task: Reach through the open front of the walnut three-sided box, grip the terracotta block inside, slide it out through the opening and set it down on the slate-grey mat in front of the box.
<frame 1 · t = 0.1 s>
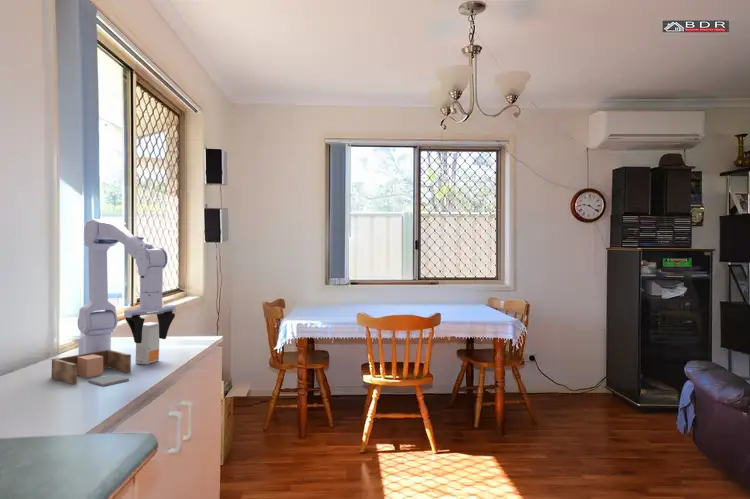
hand: (150, 340, 143), 10 cm above the countertop, tool pointing down, fingers open, 7 cm apart
block: (90, 374, 145), on the countertop
open box: (92, 374, 144), on the countertop
mat: (108, 381, 138), on the countertop
skincare box: (147, 362, 160), on the countertop
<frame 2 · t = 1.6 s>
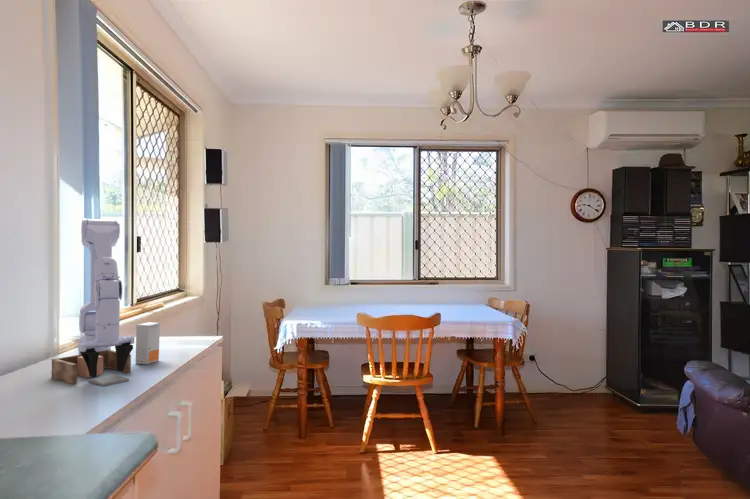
hand: (107, 373, 140), 1 cm above the countertop, tool pointing down, fingers open, 7 cm apart
nothing on the countertop moved.
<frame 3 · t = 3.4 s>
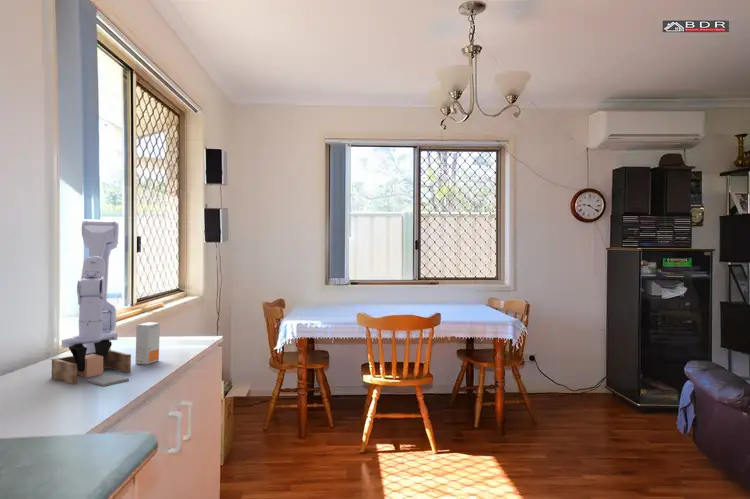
hand: (90, 369, 145), 1 cm above the countertop, tool pointing down, fingers closed on block, 4 cm apart
block: (90, 374, 145), on the countertop, touching gripper
everything else where it was.
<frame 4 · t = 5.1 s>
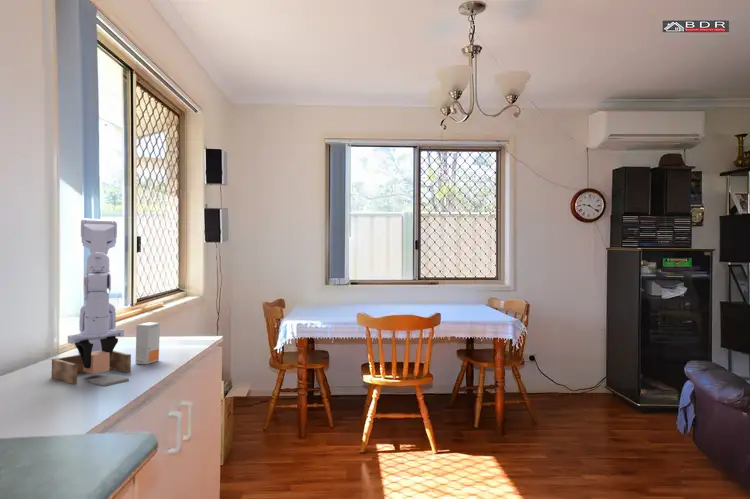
hand: (96, 365, 142), 3 cm above the countertop, tool pointing down, fingers closed on block, 4 cm apart
block: (96, 371, 142), point 2 cm above the countertop, touching gripper
everything else where it was.
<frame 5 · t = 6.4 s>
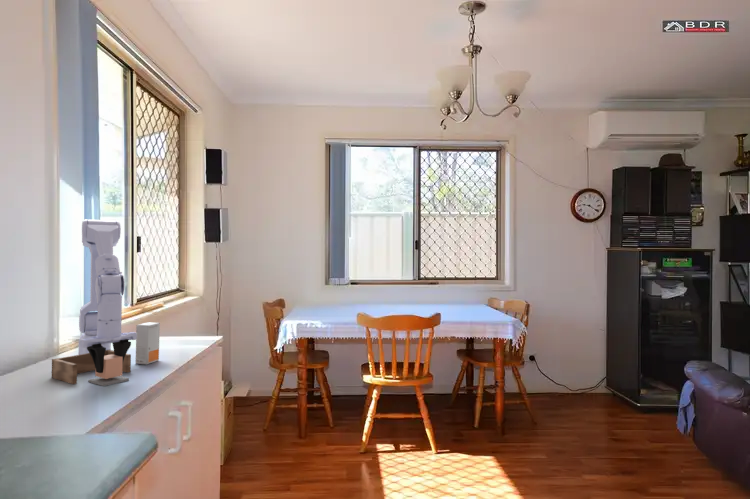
hand: (108, 370, 138), 3 cm above the countertop, tool pointing down, fingers closed on block, 4 cm apart
block: (108, 375, 138), point 1 cm above the countertop, touching gripper
everything else where it was.
when the fingers open (3 cm above the countertop, at t = 7.2 s): block stays where it is, resting on mat.
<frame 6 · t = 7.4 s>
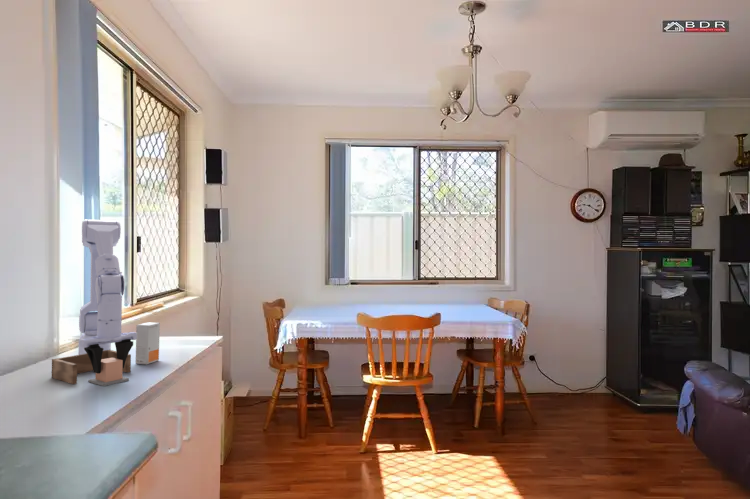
hand: (109, 370, 138), 3 cm above the countertop, tool pointing down, fingers open, 6 cm apart
block: (108, 378, 138), point 1 cm above the countertop, touching mat
everything else where it was.
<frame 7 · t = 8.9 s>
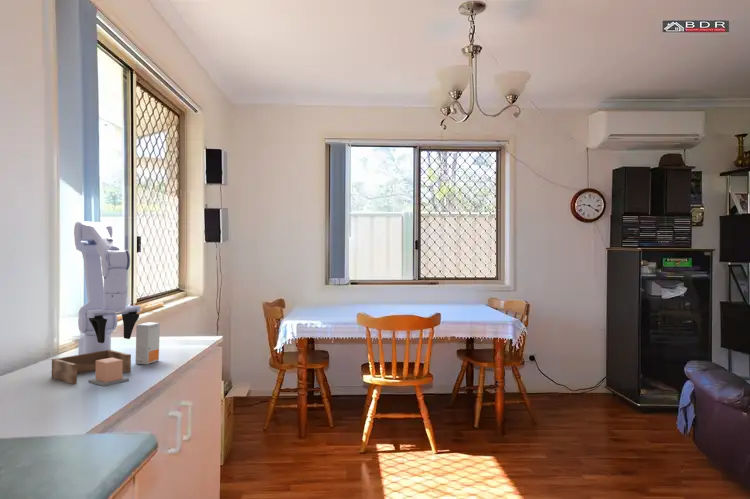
hand: (114, 340, 146), 9 cm above the countertop, tool pointing down, fingers open, 7 cm apart
nothing on the countertop moved.
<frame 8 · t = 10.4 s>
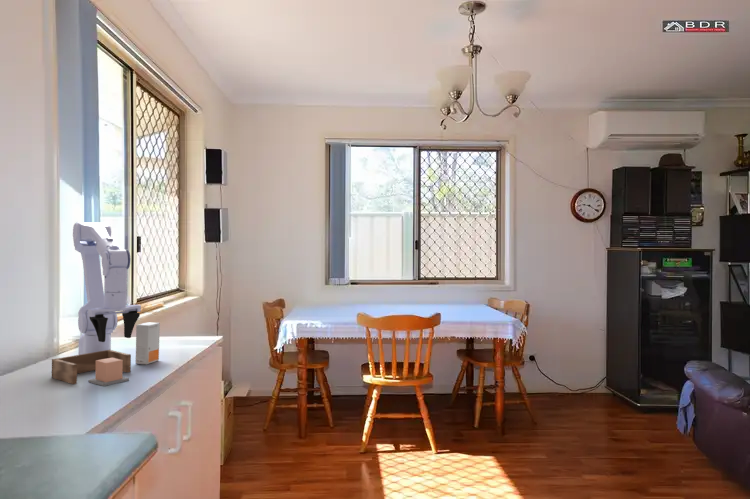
hand: (114, 339, 147), 9 cm above the countertop, tool pointing down, fingers open, 7 cm apart
nothing on the countertop moved.
at the end: block 0.0 cm off-centre on the mat, point 0.6 cm above the mat's base; block tilted 0°; the gripper is holding nothing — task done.
